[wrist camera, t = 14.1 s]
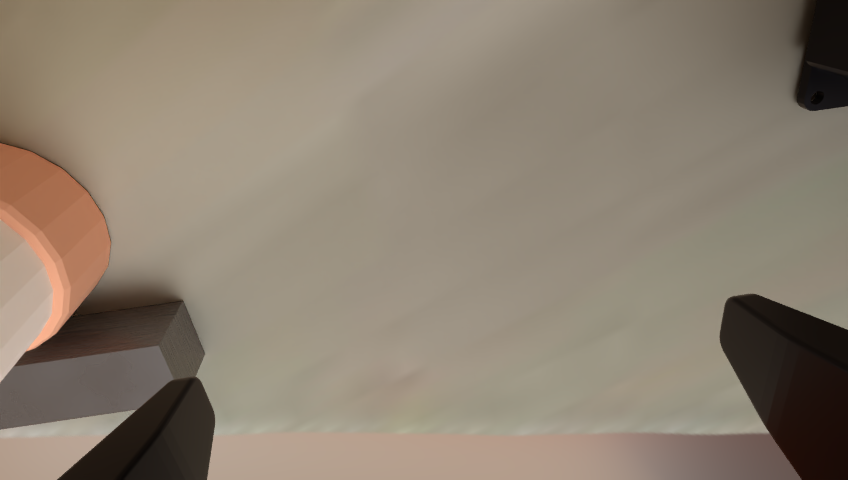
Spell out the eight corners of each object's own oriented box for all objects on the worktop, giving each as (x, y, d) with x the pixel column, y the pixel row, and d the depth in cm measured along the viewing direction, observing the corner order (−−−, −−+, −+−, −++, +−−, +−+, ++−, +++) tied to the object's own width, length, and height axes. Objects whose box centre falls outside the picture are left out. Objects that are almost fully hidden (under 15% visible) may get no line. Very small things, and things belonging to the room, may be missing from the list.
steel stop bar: (183, 301, 23) (158, 345, 21) (204, 354, 25) (184, 402, 22) (-95, 341, 23) (-155, 391, 21) (-56, 392, 25) (-108, 445, 22)
